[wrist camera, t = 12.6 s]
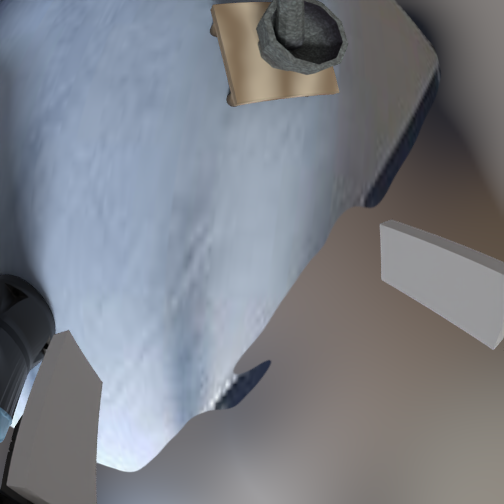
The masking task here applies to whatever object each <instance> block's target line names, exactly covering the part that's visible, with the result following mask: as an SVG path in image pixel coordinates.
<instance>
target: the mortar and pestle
mask: <svg viewBox="0 0 504 504" xmlns="http://www.w3.org/2000/svg"><path fill="white" fill-rule="evenodd" d="M256 30H257V34H258V37H259V42H258V48H259V51H260V55H261V58H262V59H263V60H265V61H266V62H267V63H268V64H269V65H270V66H271V67H272V68H275V69H280V70H284V71H293V72H297V73H301V74H305V75H309V74H315V73H317V72H320V71H322V70H324V69H327V68H330V67H332V66H335V65H337V64H340V63H341V62H342V59H343V56H344V54H345V51H346V49H347V46H348V41H347V38H346V35H345V32H344V28H343V25H342V22H341V21H340V20H339V19H338V18H337V17H336V16H335V15H334V14H333V13H332V12H331V11H330V10H329V9H328V8H327V7H326V6H325V5H324V4H323V3H322V2H319V1H316V0H273V1H272V2H271V3H270V4H269V6H268V8H267V9H266V11H265V13H264V14H263V16H262V18H261V20H260V21H259V23H258V25H257V28H256Z"/></svg>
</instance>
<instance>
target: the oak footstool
mask: <svg viewBox="0 0 504 504" xmlns="http://www.w3.org/2000/svg"><path fill="white" fill-rule="evenodd" d="M270 3H271V2H247V3H228V4H216V5H213V6H212V8H211V14H212V18H213V22H214V23H213V25H212V27H211V29H210V33H211V35H213V36H215V37H217V38H218V42H219V46H220V50H221V54H222V58H223V62H224V66H225V70H226V74H227V78H228V82H229V87H230V91H231V93H230V94H229V95H228V96H227V103H228V104H229V105H230V106H232V107H236V106H238V105H244V104H250V103H256V102H262V101H269V100H277V99H285V98H293V97H303V96H305V97H308V96H315V95H329V94H336V93H339V89H338V85H337V81H336V77H335V73H334V69H333V66H332V67H330V68H327V69H324V70H322V71H320V72H317V73H315V74H309V75H305V74H301V73H297V72H293V71H284V70H280V69H275V68H272V67H271V66H270V65H269V64H268V63H267V62H266V61H265V60H263V59H262V58H261V55H260V51H259V48H258V42H259V37H258V34H257V30H256V28H257V25H258V23H259V21H260V20H261V18H262V16H263V14H264V13H265V11H266V9H267V8H268V6H269V4H270Z"/></svg>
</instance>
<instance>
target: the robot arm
mask: <svg viewBox="0 0 504 504" xmlns="http://www.w3.org/2000/svg"><path fill="white" fill-rule="evenodd" d="M380 240H381V279H382V280H383V281H385V282H386V283H388V284H390V285H391V286H393V287H395V288H397V289H398V290H400V291H401V292H403V293H405V294H406V295H408V296H410V297H411V298H413V299H415V300H416V301H418V302H420V303H421V304H423V305H424V306H426V307H428V308H429V309H431V310H432V311H434V312H436V313H437V314H439V315H440V316H442V317H444V318H445V319H447V320H448V321H450V322H452V323H453V324H455V325H456V326H458V327H459V328H461V329H462V330H464V331H465V332H467V333H468V334H470V335H472V336H473V337H475V338H476V339H478V340H479V341H481V342H482V343H484V344H485V345H487V346H488V347H490V348H491V349H493V350H494V349H495V348H496V347H497V345H498V344H499V343H500V342H501V341H502V339H503V337H504V262H502V261H500V260H497V259H495V258H493V257H490V256H488V255H486V254H483V253H481V252H478V251H476V250H473V249H471V248H468V247H466V246H463V245H461V244H458V243H456V242H453V241H451V240H448V239H445V238H443V237H440V236H437V235H434V234H432V233H429V232H426V231H423V230H421V229H418V228H415V227H412V226H409V225H406V224H403V223H400V222H397V221H394V220H389V221H387V222H384V223H381V224H380ZM42 360H43V361H42ZM41 361H42V363H41V366H40V368H39V371H38V373H37V376H36V378H35V381H34V384H33V386H32V389H31V392H30V395H29V398H28V401H27V404H26V407H25V410H24V413H23V415H22V416H21V418H20V419H19V421H18V423H17V424H16V426H15V428H14V432H13V436H12V442H11V443H10V447H9V450H10V452H8V455H7V459H6V464H5V469H4V474H3V479H2V486H1V490H0V504H97V500H96V454H97V434H98V421H99V410H100V400H101V391H102V383H103V382H102V381H101V380H100V378H99V377H98V375H97V374H96V372H95V371H94V370H93V368H92V367H91V365H90V364H89V362H88V361H87V359H86V357H85V356H84V354H83V353H82V351H81V350H80V348H79V346H78V345H77V343H76V341H75V340H74V338H73V336H72V335H71V333H70V331H69V330H67V331H64V332H61V333H58V334H55V323H54V319H53V316H52V313H51V311H50V309H49V307H48V305H47V303H46V302H45V300H44V299H43V297H42V296H41V295H40V294H39V293H38V291H37V290H36V289H35V288H34V287H32V286H31V285H30V284H29V283H27V282H26V281H24V280H22V279H21V278H18V277H16V276H13V275H6V274H4V275H0V442H2V441H3V440H4V438H5V435H6V433H7V430H8V428H9V425H11V424H12V419H13V416H14V412H15V409H16V406H17V403H18V400H19V397H20V394H21V391H22V388H23V386H24V383H25V380H26V378H27V375H28V373H29V371H30V370H31V369H33V368H34V367H35V366H36V365H37V364H39V363H40V362H41Z"/></svg>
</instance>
